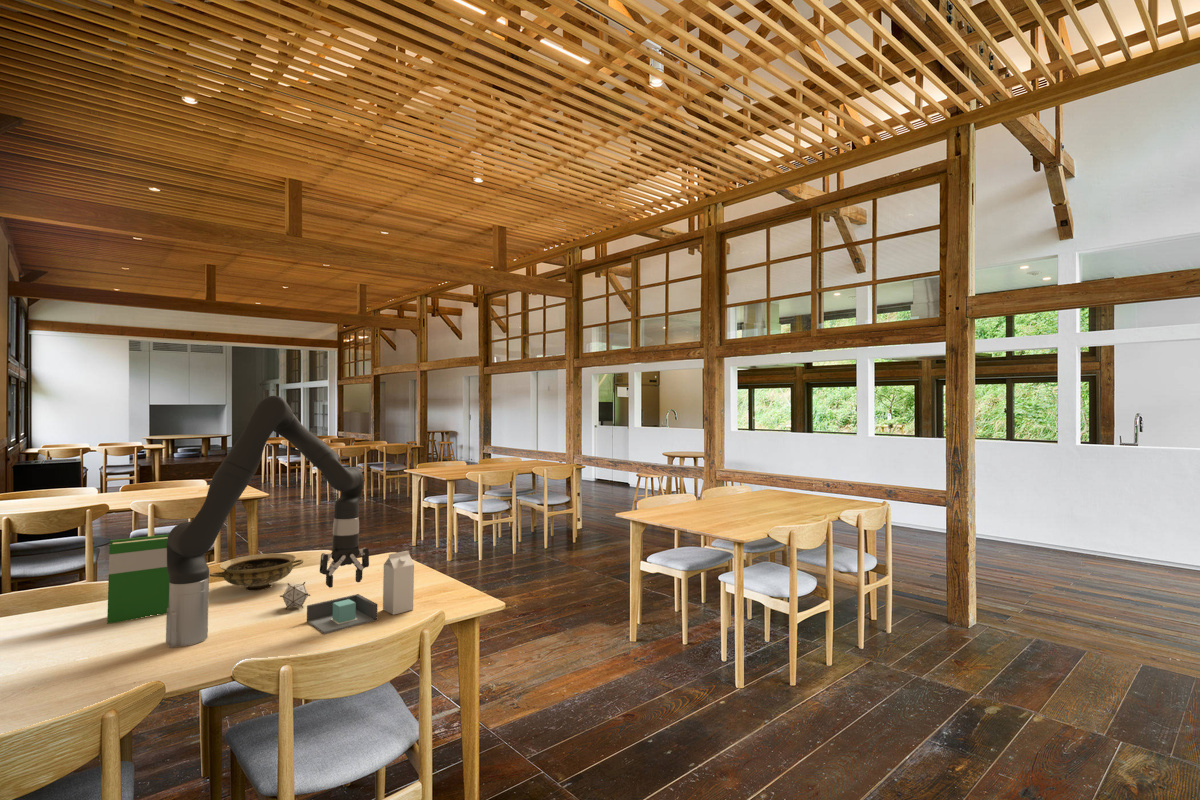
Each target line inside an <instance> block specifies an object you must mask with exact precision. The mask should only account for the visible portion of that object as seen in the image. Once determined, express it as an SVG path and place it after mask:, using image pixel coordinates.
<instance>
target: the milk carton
mask: <svg viewBox="0 0 1200 800" xmlns="http://www.w3.org/2000/svg"><path fill="white" fill-rule="evenodd" d="M414 573H415V563H414V561H413V559H412V557H411V555H410V550H404V551H399V552H393V553H388V558H387V559H386V561H385V562H384V563H383V577H382V578H383V581H382V584H383V586H382V587H383V588H382V610H383V611H384V612H387V613H389V614H391V615H398V614H402V613H406V612H410V611H413V610H414V597H415V596H414V592H415V591H414V587H415V586H414V585H415V574H414Z"/></svg>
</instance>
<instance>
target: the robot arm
mask: <svg viewBox="0 0 1200 800" xmlns="http://www.w3.org/2000/svg"><path fill="white" fill-rule="evenodd" d="M273 432H275V433H276V434H278V435H279V436H281V437H282V438H284V439H285V440H287V441H288V442H290V443H291V445H292V446H293V447H295V448H296V449H297V450H298V452H300V453H301V454H302V455H303V457H305V459H306V460H308V462H310V463H311V464H312V465H313V466H314V467H315V468H316V469H318V470H319V471H320V472H321V474H322V475H323V478H325V480H326V481H327V483H328V484H329V485H330V486H331V487H332V488H333V489H335V490H336V491H338V492H340V495H339V498H338V499H336V501H335V504H334V512H333V513H334V514H333V515H334V516H333V522H332V523H333V524H332V542H331V543H332V544H331V545H332V549H331V550H332V551H331V553H325V552H322V553H321V554H320V562H319V574H322V575H324V576H325V585H326V586H327V587H328V588H329V589H330V588H331V589H332V588H333V585H334V572H335V571H336V570H338V568H339V566H340V567H344V566H346V565H347V566H350V565H354V566H355V582H356V583H361V582H362V580H363V572H364V571H363V570H364V569H366V568H368V567H369V566H370V555H369V553H370V552H369V548H368V547H362V548H359V546H360V545H359V542H360V539H359V538H360V519H359V518H360V517H359V515H360V505H359V504H360V501H361V497H362V493H363V490H364V489H363V488H364V482H365V481H364V474H363V472H362V471H361V469H359V468H358V467H353V466H352V467H345V466H344V465H342V463H341V456H340V455H339V454H338V453H337V452H336V451H335V450H333V449H332V448H331V447H330V446H329V445H328V444H327V443H326V442H325V441H323V440H322V439H320V438H319V437H318V436H316V435H315V434H314V433H312V432H311V431H309V429H307V428H306V427H305V426H304V425H303V424H302V422H300V420H299V419H298V417H297V416H296V415H295V414H294V411H293V409H292V408H291V406H290V405H289V404H288V402H287V401H286V400H285V399H284V398H283V397H281V396H279V395H269V396H267V397H264V398H263V399H261V400H260V401H259V402H258V404H257V405H256V406H255V409H254V410H253V413H252V414H251V416H250V418H249V420H248V422H247V423H246V426H245V428H244V429H243V431H242V433H241V434H240V436H239V438H238V439H236V441H235V443H234V444H233V446H232V447H231V449H230V450H229V452H228V453H227V455H226V456H225V458H224V459H223V460H222V462H221V464H220V465H219V466H218V468H217V469H216V471H215V472H214V474H213V476H212V478H211V481H210V482H209V487H208V490H207V494H206V497H205V501H204V502H203V505H202V506H201V508H200V510H199V511H198V513H197V514H196V515H195V516H194V518H193V519H192V520H191V521H184V522H180V523H179V524H177V525H175V526H174V527H173V528H172V529H171V530H170V532H169V536H168V539H167V570H168V574H169V608H167V614H166V619H165V622H166V623H165V625H166V626H165V643H166V645H167V646H168V647H169V648H170V649H171V648H176V647H177V648H178V647H179V648H180V647H188V646H191V645H192V646H193V645H197V644H199V643H201V642H203V641H205V640H206V639H208V635H209V634H208V632H209V628H208V627H209V596H210V595H209V593H210V592H209V590H210V586H209V585H210V568H209V565H208V564H207V560H206V553H208V552H209V550H211V548H212V547H213V545H214V543H215V541H216V539H217V538H218V536H219V534H220V531H221V530H222V527H223V526H224V523H225V521H226V520H227V518H228V516H229V514H230V513H231V511H232V509H233V508H234V507H235V505H236V503H237V502H238V501H239V499H240V497H241V496H242V494H243V492H245V490H246V489H247V487H248V485H249V484H250V483H251V480H252V479H253V477H254V476H255V475H256V473H257V471H258V468H259V466H260V462H261V460H262V456H263V453H264V451H265V446H266V443H267V441H268V440H269V438H270V437H271V435H272V433H273ZM359 554H360V555H361V562H360V560H359V559H358V558H357V557H358V556H359ZM331 559H332V561H331V562H330V564H329V567H328V563H329V561H330V560H331ZM187 645H188V646H187Z"/></svg>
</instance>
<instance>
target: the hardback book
mask: <svg viewBox="0 0 1200 800" xmlns="http://www.w3.org/2000/svg"><path fill="white" fill-rule="evenodd" d="M168 536H169V534H160V535H150V536H149V535H148V536H139V537H131V538H122V539H111V540H109V550H108V551H109V553H108V583H107V584H108V586H107V587H108V588H107V590H108V591H107V619H106V624H109V625H110V624H114V623H115V624H116V623H121V622H126V620H127V621H131V619H133V620H137V619H136V618H138V619H142V618H141V617H144V618H146V617H145V616H150V615H156V616H158V615H157V614H161V615H165V614H164V613H167V608H169V574H168V570H167V539H168ZM150 617H151V616H150Z"/></svg>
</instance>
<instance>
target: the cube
mask: <svg viewBox="0 0 1200 800" xmlns="http://www.w3.org/2000/svg"><path fill="white" fill-rule="evenodd" d="M355 618H356V603H355V602H353V601H351V600H350V599H347V600H343V601H339V602H334V603H333V620H335V621H337V622H338V623H342V622H346V621H350V620H353V619H355Z"/></svg>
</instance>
